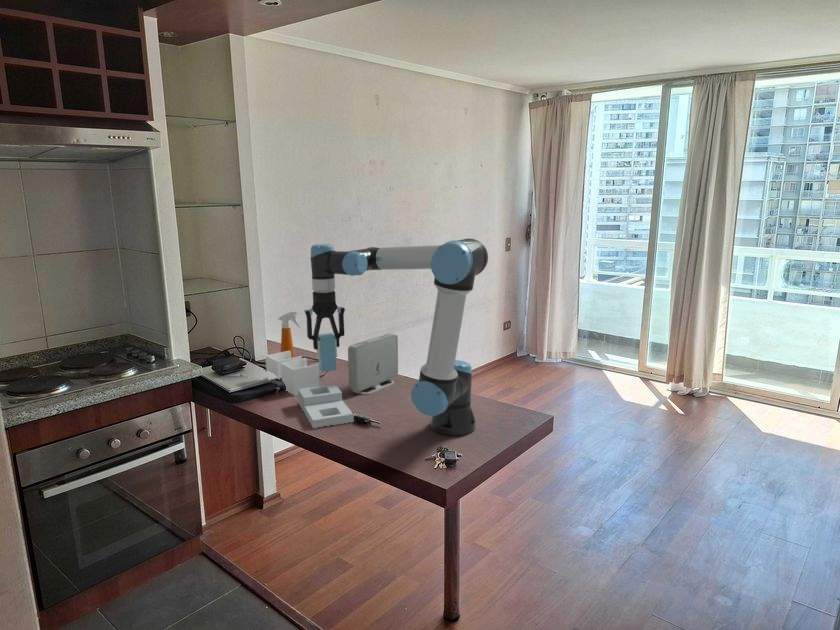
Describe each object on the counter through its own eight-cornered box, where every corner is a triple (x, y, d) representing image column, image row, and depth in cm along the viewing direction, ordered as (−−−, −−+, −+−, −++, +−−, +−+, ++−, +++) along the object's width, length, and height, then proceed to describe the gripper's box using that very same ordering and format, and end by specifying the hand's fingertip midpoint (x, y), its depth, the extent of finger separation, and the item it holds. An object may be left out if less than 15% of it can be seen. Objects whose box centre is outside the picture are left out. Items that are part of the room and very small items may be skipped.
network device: (360, 398, 217) (359, 348, 213) (344, 393, 222) (342, 344, 218) (402, 381, 237) (401, 335, 233) (386, 376, 242) (385, 331, 238)
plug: (336, 370, 194) (334, 336, 191) (321, 371, 192) (320, 337, 189) (332, 365, 199) (330, 332, 197) (318, 366, 197) (316, 333, 195)
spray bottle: (301, 370, 250) (298, 312, 244) (277, 370, 251) (274, 312, 245) (305, 366, 257) (303, 309, 251) (282, 365, 258) (279, 309, 252)
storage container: (267, 380, 238) (265, 355, 236) (290, 374, 245) (289, 350, 243) (295, 396, 219) (293, 369, 217) (319, 390, 226) (318, 364, 224)
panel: (353, 422, 195) (353, 405, 194) (313, 428, 189) (312, 411, 188) (335, 398, 216) (334, 384, 215) (298, 404, 211) (298, 389, 210)
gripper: (347, 287, 196) (349, 351, 201) (294, 290, 189) (298, 357, 194) (352, 290, 189) (355, 357, 194) (298, 294, 182) (302, 363, 187)
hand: (327, 357), depth 194 cm, fingers closed on plug, 5 cm apart
